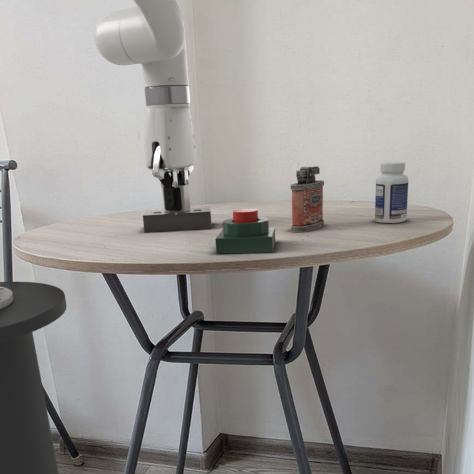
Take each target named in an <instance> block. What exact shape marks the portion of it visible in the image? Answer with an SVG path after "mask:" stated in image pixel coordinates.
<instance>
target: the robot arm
mask: <svg viewBox="0 0 474 474" xmlns="http://www.w3.org/2000/svg"><path fill="white" fill-rule="evenodd" d="M133 2H134V3H135V4H136V6H134V7H129V8H125V9H120V10H116V11H111V12H109V13H106V14H105V15H103V16H101V18H100V19H99V20H98V22H97V23H96V25H95V28H94V33H93V35H94V43H95V46H96V49H97V51H98V52H99V54H100V55H101V56H102V57H103V58H104V59H105V60H106V61H108V63H111V64H113V65H117V66H131V65H139V64H140V65H141V67H142V76H143V87H144V96H145V105H146V107H145V109H144V118H143V142H144V156H145V157H144V158H145V159H144V160H145V166H146V168H147V169H148V170H150V171H152V176H153V177H154V178H156V179H158V181H159V182H160V186H161V189H162V188H163V190H164V201H165V209H166V211H180V210H182V204H181V192H180V187H177V186H178V185H189V184H190V183H189V182H190V181H189V177H190V174H191V173H192V172H193V171H194V169H195V167H194V165H195V163H196V158H197V155H196V154H197V153H196V152H197V151H196V141H195V140H196V139H195V133H194V125H193V119H192V114H191V109H190V108H191V95H190V94H191V93H190V81H189V67H188V65H189V64H188V53H187V41H186V40H187V39H186V27H185V21H184V18H183V15H182V13H181V10H180V7H179V4H178V3H177V0H133ZM163 190H162V191H163ZM164 201H163V202H164ZM13 300H14V299H13V293H12V291H11V290H10V289H7V288H4V287H0V310H1V309H3V308H5V307H7V306H8V305H10V304H11V303H12V302H13Z"/></svg>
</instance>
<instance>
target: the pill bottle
mask: <svg viewBox="0 0 474 474" xmlns="http://www.w3.org/2000/svg"><path fill="white" fill-rule="evenodd" d="M379 171H380V173H381V175H379V176H378V177H377V178H376V180H375V199H374V201H375V203H374V221H375V222H376V223H381V224H397V223H403V222H405V221H406V220H407V219H408V217H407V215H408V200H409V199H408V198H409V197H408V196H409V177H408V176H407V175H405V174H404V172H405V171H406V162H405V161H391V162H381V163H380V169H379Z"/></svg>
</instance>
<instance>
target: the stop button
mask: <svg viewBox="0 0 474 474" xmlns="http://www.w3.org/2000/svg"><path fill="white" fill-rule="evenodd" d="M258 217H259V210H258V209H257V208H238V209H234V210H232V218H233V222H237V223H246V222H256V221H258Z"/></svg>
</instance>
